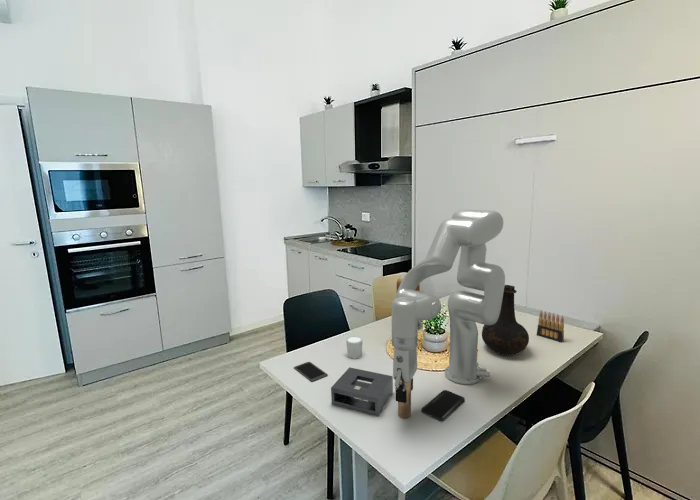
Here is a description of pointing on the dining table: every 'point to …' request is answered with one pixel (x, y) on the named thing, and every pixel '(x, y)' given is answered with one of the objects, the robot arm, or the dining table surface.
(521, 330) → the glass bottle
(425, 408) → the phone
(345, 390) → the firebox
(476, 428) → the dining table surface
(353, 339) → the white cylinder
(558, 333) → the ammunition clip
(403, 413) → the brown long cylinder
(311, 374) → the cell phone
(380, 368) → the dining table surface
